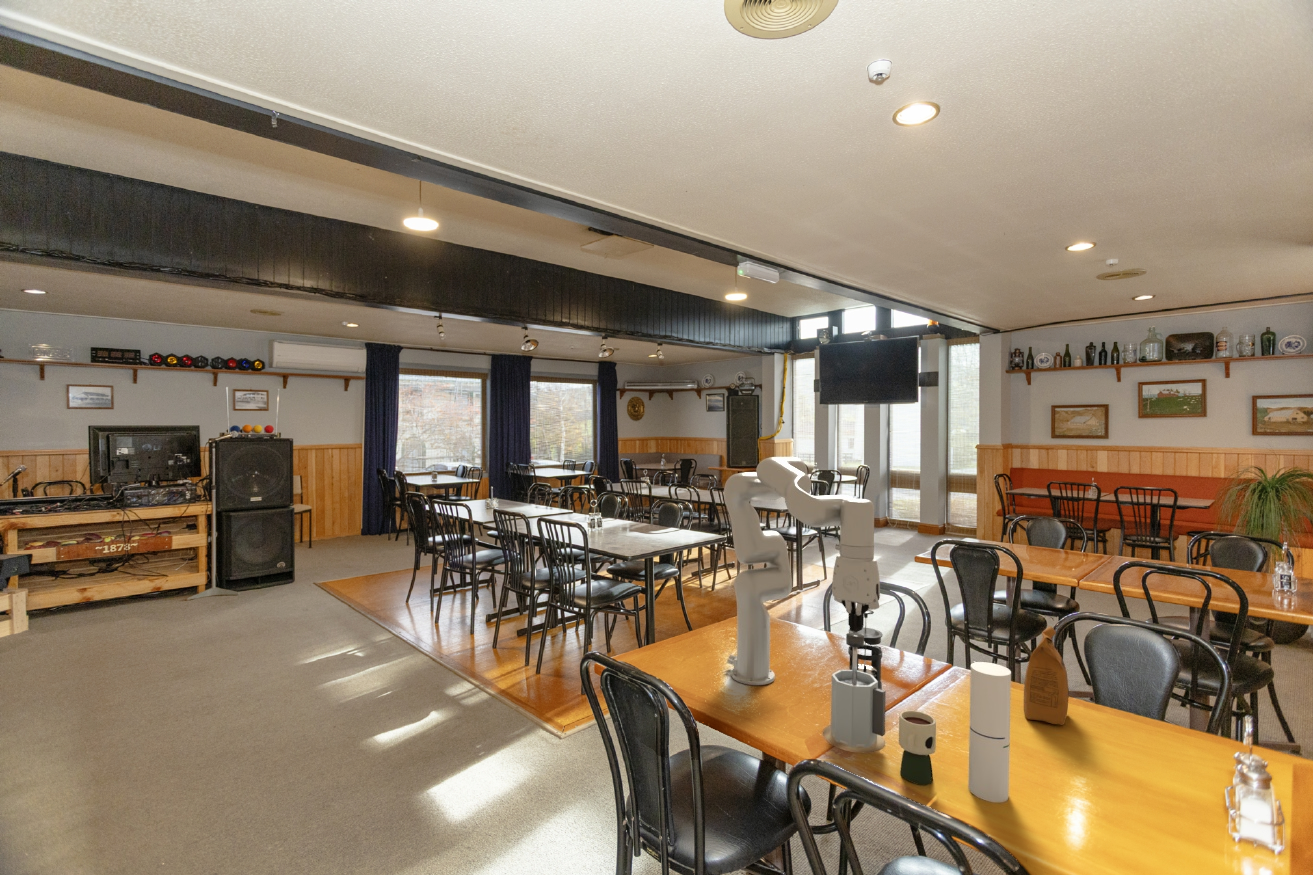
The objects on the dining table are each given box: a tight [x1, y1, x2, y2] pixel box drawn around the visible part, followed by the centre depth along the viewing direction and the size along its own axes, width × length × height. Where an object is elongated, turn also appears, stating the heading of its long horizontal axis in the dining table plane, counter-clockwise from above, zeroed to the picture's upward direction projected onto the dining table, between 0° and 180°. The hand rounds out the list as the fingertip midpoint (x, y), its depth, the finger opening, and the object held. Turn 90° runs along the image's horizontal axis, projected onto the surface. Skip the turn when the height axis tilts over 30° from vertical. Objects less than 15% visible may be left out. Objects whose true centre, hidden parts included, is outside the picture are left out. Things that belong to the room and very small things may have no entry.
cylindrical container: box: [967, 661, 1012, 804], centre depth 124 cm, size 7×7×25 cm
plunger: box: [840, 632, 869, 685], centre depth 144 cm, size 7×7×12 cm
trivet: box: [822, 724, 886, 754], centre depth 145 cm, size 14×14×1 cm
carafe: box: [830, 669, 886, 748], centre depth 144 cm, size 12×10×14 cm
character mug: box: [898, 709, 937, 786], centre depth 128 cm, size 11×7×13 cm, turn 143°
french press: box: [847, 610, 884, 690], centre depth 171 cm, size 12×9×23 cm
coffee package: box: [1023, 626, 1070, 726], centre depth 158 cm, size 10×12×22 cm
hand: (855, 629), depth 144 cm, fingers closed
